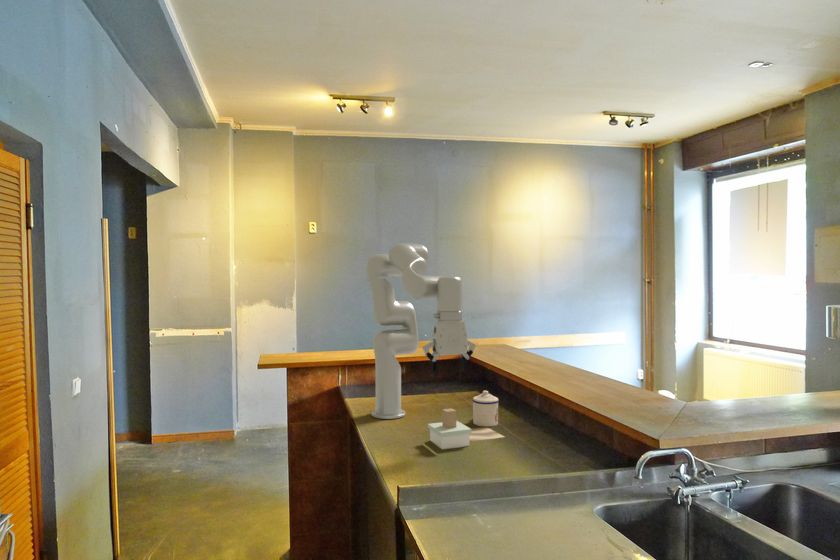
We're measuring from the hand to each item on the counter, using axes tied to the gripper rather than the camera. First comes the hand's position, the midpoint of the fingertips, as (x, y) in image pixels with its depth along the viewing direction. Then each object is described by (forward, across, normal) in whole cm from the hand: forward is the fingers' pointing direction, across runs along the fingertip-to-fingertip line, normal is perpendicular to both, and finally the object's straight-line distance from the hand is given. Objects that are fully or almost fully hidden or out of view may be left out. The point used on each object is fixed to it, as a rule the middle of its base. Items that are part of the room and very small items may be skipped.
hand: (449, 373), depth 157 cm
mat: (+22, +13, +5) cm, 26 cm away
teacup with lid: (+22, +22, +17) cm, 35 cm away
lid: (+18, 0, 0) cm, 18 cm away
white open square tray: (+22, 0, 0) cm, 22 cm away
